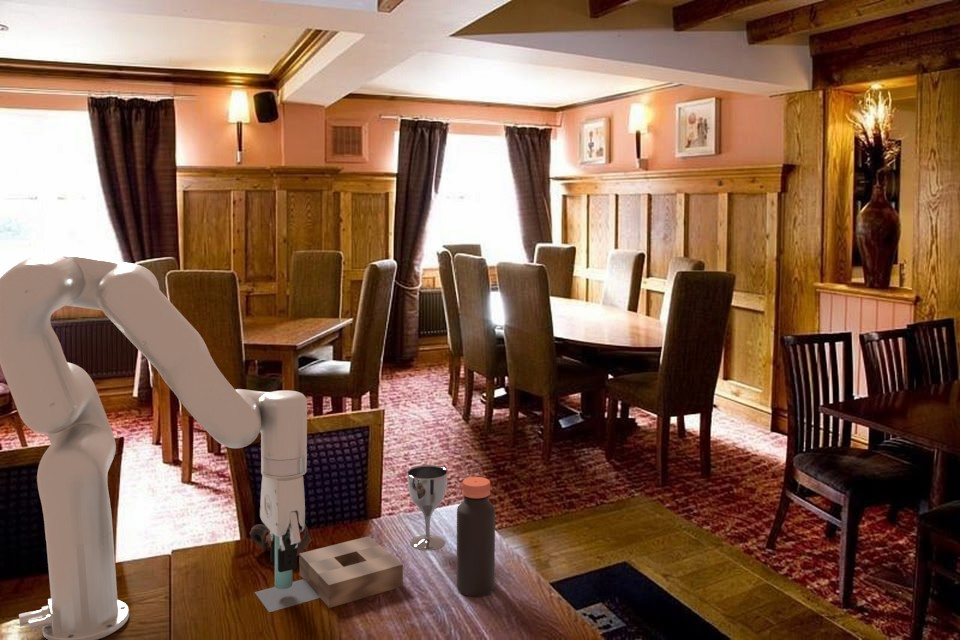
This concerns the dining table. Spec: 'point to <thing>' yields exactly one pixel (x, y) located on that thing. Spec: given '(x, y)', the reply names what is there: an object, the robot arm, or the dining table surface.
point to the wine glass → (427, 500)
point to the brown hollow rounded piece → (262, 538)
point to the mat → (287, 596)
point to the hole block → (350, 571)
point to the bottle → (475, 539)
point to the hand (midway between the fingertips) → (283, 564)
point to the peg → (281, 578)
